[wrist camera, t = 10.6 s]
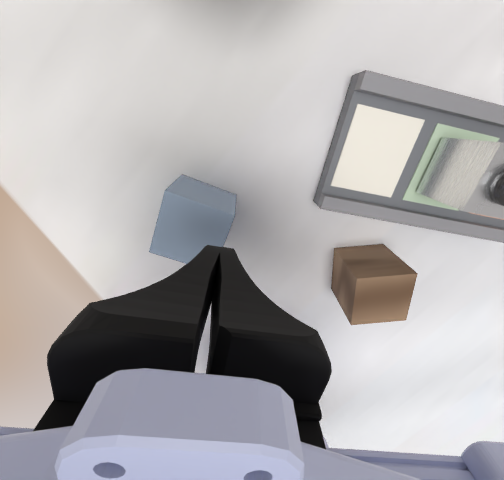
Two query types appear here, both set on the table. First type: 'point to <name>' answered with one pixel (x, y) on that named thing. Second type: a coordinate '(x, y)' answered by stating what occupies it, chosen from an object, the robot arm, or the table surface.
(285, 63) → the table surface
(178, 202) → the slate-blue block
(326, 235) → the table surface
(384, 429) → the table surface
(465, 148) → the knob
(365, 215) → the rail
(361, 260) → the walnut block
